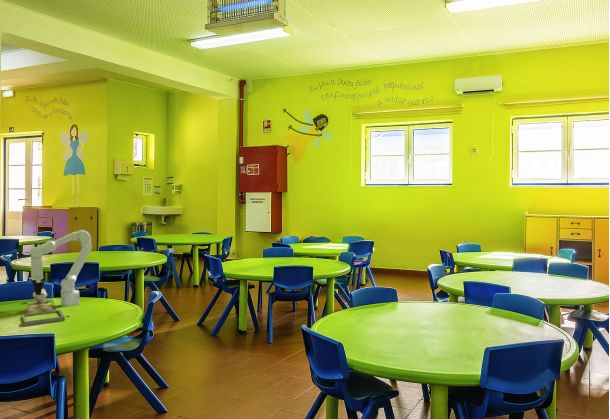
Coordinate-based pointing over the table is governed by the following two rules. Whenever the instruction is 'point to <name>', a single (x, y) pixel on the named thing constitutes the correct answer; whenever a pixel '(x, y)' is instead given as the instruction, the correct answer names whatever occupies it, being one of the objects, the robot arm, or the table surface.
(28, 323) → the tray
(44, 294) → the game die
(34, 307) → the cream square frame
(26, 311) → the stake board
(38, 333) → the table surface
